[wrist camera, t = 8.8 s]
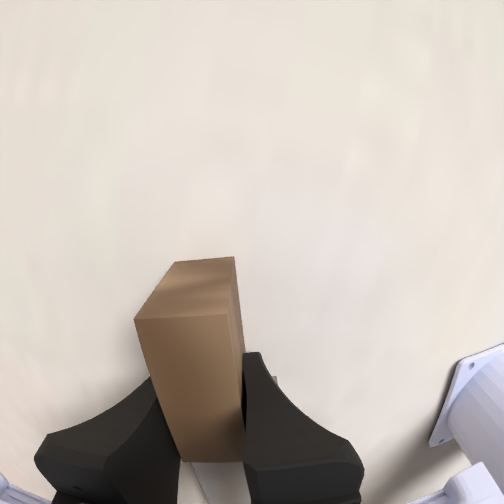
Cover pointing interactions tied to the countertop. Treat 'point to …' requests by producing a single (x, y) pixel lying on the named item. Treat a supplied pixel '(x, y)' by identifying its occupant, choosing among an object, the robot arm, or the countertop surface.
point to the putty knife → (200, 370)
